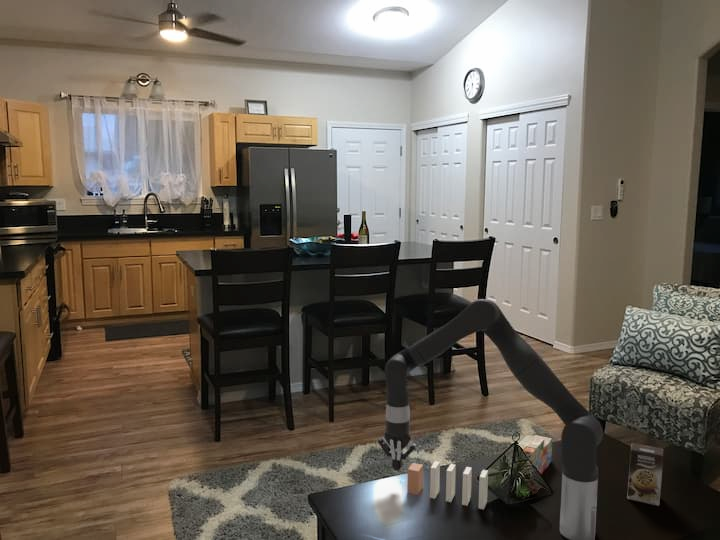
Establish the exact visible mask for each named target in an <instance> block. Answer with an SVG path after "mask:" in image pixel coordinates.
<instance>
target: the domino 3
mask: <svg viewBox="0 0 720 540" xmlns="http://www.w3.org/2000/svg"><path fill="white" fill-rule="evenodd" d="M456 465H457V464H455V463H450V464H449V466H448V467H447V469H446V475H445V478H446V482H445V502H449V503H452V501H453V499H454V497H455V495H456V474H457V473H456V471H457V470H456V469H457V467H456Z"/></svg>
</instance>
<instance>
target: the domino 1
mask: <svg viewBox="0 0 720 540" xmlns="http://www.w3.org/2000/svg"><path fill="white" fill-rule="evenodd" d="M423 488H424V464H423V463H422V464H421V463H418V462H412V463H411V464H410V465H409V467H408V468H407V489H406V491H407V494H412V495H416V496H419V495H420V493H421V491H422V490H423Z"/></svg>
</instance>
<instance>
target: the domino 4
mask: <svg viewBox="0 0 720 540" xmlns="http://www.w3.org/2000/svg"><path fill="white" fill-rule="evenodd" d="M472 469H473V468H472V467H470V466H466V467H465V469H464V470H463V472H462V487H461V489H462V491H461V492H462V493H461V497H462V499H461V505H462V506H465V505H466V506H465V507H468V505H469V503H470V501H471V499H472V478H473V477H472V475H473V474H472V471H473V470H472ZM470 498H471V499H470Z"/></svg>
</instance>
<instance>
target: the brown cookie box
mask: <svg viewBox="0 0 720 540" xmlns="http://www.w3.org/2000/svg"><path fill="white" fill-rule="evenodd" d="M664 451H665V450H664V448H663V447H662V448H661V447H656V446H652V445H646V444H640V443H634V442H632V443H631V445H630V457H629V468H628V469H629V470H628V481H627V482H628V483H627V496H626V498H627V500H631V501H636V502H640V503H645V504H648V505H653V506H657V507H660V499H661V491H662V490H661V489H662V488H661V487H662V478H663V477H662V475H663V463H664Z"/></svg>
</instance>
